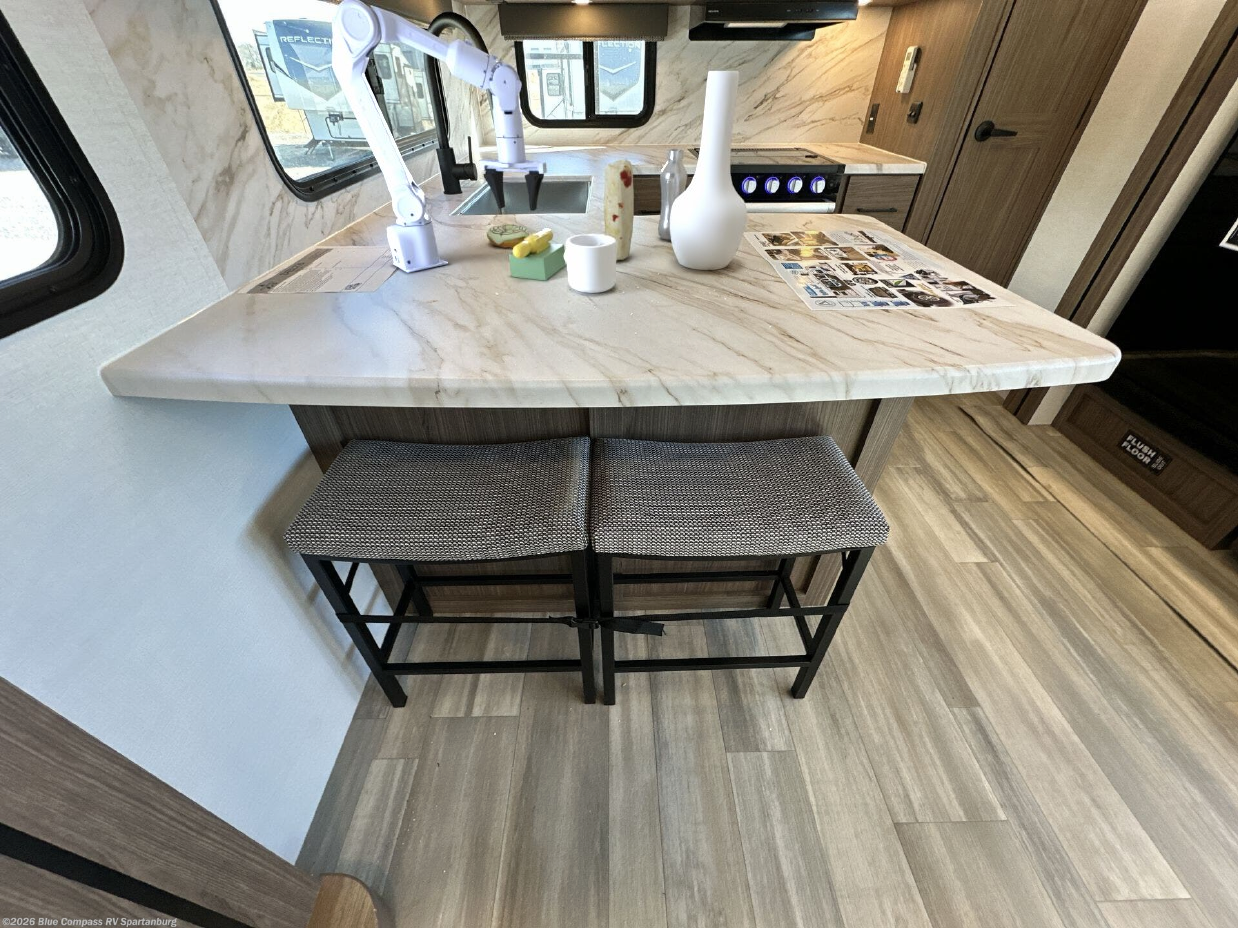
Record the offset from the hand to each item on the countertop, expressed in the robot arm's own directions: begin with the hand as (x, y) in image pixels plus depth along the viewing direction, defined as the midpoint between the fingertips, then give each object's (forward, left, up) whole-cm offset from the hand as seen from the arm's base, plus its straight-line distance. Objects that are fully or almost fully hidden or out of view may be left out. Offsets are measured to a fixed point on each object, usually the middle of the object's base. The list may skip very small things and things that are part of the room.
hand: (517, 209), depth 113 cm
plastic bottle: (+38, -12, -11) cm, 41 cm away
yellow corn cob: (-3, -11, -6) cm, 13 cm away
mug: (0, -26, -11) cm, 28 cm away
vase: (+29, -31, -11) cm, 44 cm away
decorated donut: (+4, +12, -11) cm, 17 cm away
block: (-3, -11, -10) cm, 15 cm away
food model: (+17, -15, -11) cm, 25 cm away
